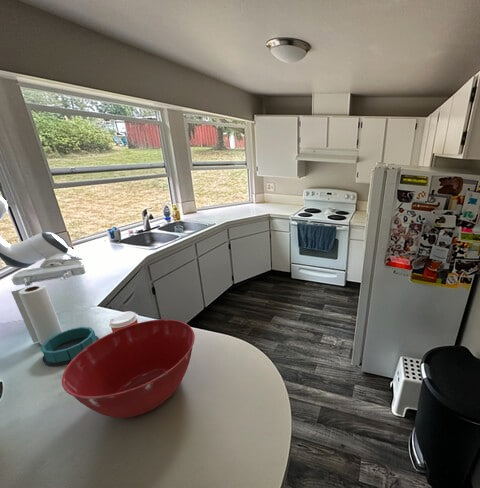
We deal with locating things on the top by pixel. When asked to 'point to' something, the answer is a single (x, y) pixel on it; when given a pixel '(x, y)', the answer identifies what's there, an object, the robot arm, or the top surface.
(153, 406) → the mixing bowl
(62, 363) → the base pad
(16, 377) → the top surface
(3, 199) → the robot arm
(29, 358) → the top surface
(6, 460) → the top surface
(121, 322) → the paper cup
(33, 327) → the paper towel roll
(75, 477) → the top surface
